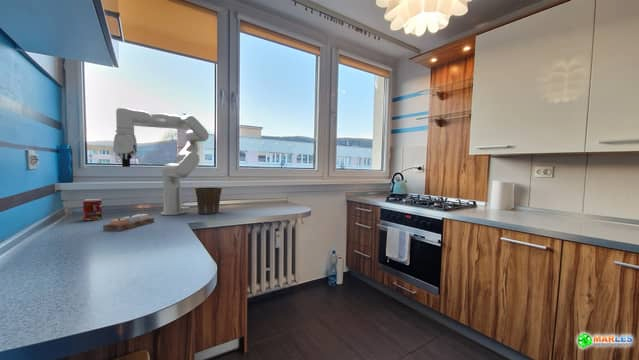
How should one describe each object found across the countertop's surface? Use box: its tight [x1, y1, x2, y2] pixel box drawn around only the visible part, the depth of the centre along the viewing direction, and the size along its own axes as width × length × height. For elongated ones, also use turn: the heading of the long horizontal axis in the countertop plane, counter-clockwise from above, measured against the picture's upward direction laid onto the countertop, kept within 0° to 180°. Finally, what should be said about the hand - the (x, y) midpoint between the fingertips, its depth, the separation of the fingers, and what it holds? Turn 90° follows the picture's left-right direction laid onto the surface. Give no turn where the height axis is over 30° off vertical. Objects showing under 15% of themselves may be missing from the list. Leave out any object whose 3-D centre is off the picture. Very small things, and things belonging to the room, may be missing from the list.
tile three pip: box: [109, 217, 128, 225], centre depth 120 cm, size 5×5×4 cm
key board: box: [102, 216, 155, 232], centre depth 126 cm, size 20×8×2 cm, turn 174°
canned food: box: [82, 198, 103, 220], centre depth 141 cm, size 8×8×11 cm
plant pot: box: [194, 187, 223, 215], centre depth 166 cm, size 16×16×16 cm
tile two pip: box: [121, 215, 139, 222], centre depth 126 cm, size 5×5×4 cm
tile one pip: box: [132, 213, 149, 220], centre depth 133 cm, size 5×5×4 cm
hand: (126, 166), depth 137 cm, fingers closed
